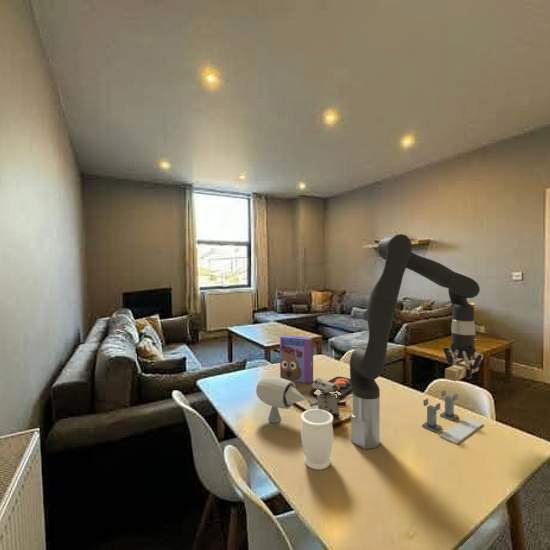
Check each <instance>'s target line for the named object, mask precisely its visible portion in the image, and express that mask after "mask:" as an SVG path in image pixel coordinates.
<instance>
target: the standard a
mask: <svg viewBox="0 0 550 550" xmlns="http://www.w3.org/2000/svg"><path fill="white" fill-rule="evenodd" d="M423 406H424V407H426V421H425V422H424V423H422V424H421V427H422V428H424V429H426V430H428V431H431V432H433V433H436V432H438V431H439V430H441V429H442V425H440V424H438V423H437V411H439V410H441V403H440V402H438V403H436V404H435V405H431V404H430V405H429V399H428V398H425V399H424V400H423Z"/></svg>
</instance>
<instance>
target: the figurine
mask: <svg viewBox="0 0 550 550" xmlns="http://www.w3.org/2000/svg"><path fill="white" fill-rule="evenodd" d="M330 380H331V379H329V380H325V379H323V378H319V377H317V378H315V379H314V380H313V382H312V383H311V385H312V388H313V389H318V390H320V391H321V393H322V394H320V395H318V396H316V398H317V399H316V400H317V401H315V402H313V403H312V402H311V401H310V400H308V403H309V407H312V408H313V407H315V406H317V407H318V408H317V409H321V410H325V411H327V412H329V413H331V414H333V415H332V416H334V415H335V416H336V418H340V417H341V415H340V409H339V405H340V404H341V402H340V398H339V395H338V394H337V393H334V394H337V398H336V395H334V394H331V393H329V392H330V391H331V392H335V391H337V390H338V386H337V385H335V384H333V383H330ZM328 381H329V382H328ZM335 416H334V417H335ZM339 416H340V417H339Z"/></svg>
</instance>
